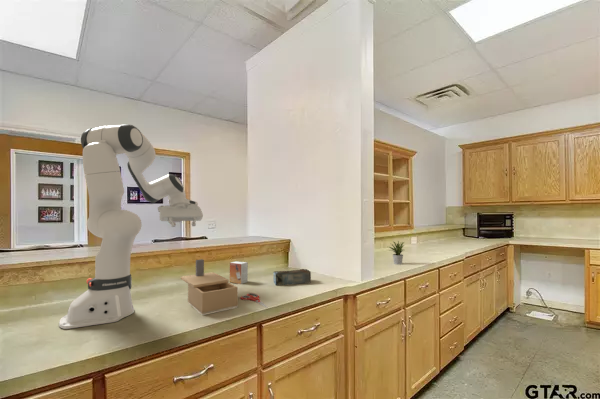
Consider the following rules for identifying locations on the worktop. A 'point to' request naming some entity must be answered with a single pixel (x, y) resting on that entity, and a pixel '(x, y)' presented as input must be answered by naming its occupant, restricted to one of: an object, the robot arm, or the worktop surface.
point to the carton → (213, 297)
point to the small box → (238, 272)
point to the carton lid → (203, 277)
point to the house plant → (397, 253)
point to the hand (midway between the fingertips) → (184, 225)
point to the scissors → (252, 298)
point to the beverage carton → (292, 277)
